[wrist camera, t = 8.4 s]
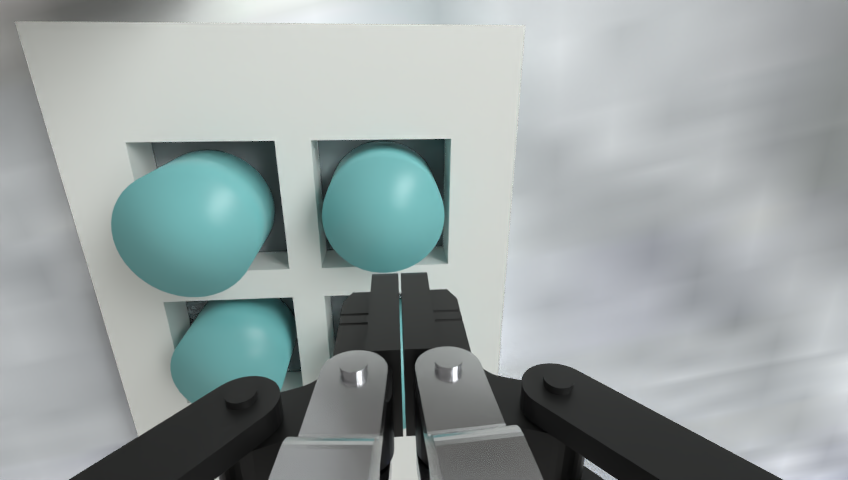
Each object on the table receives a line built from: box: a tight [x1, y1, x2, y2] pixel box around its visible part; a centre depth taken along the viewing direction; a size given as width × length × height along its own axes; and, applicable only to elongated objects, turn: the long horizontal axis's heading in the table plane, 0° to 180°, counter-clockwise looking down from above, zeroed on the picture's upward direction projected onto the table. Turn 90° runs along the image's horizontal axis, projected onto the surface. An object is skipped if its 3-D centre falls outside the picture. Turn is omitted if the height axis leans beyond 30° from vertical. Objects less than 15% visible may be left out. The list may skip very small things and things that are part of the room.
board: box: [15, 21, 525, 480], centre depth 22 cm, size 18×24×2 cm
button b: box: [111, 150, 275, 297], centre depth 18 cm, size 5×5×3 cm
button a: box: [322, 141, 445, 273], centre depth 20 cm, size 5×5×3 cm
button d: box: [170, 298, 297, 403], centre depth 22 cm, size 5×5×3 cm
